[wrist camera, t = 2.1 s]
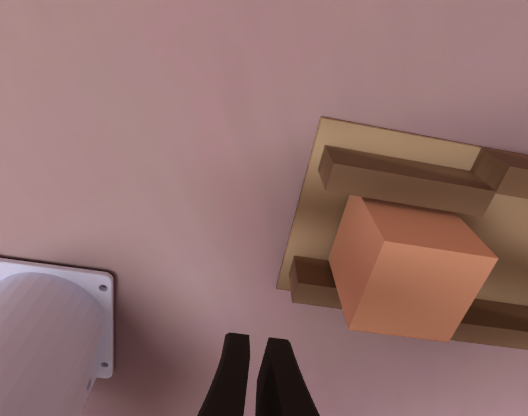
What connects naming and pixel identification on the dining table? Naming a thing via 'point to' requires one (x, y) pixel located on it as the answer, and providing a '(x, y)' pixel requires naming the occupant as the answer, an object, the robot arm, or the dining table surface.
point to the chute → (424, 195)
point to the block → (406, 268)
